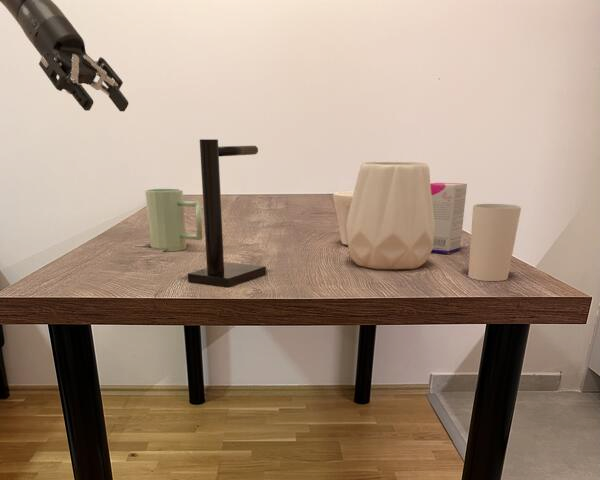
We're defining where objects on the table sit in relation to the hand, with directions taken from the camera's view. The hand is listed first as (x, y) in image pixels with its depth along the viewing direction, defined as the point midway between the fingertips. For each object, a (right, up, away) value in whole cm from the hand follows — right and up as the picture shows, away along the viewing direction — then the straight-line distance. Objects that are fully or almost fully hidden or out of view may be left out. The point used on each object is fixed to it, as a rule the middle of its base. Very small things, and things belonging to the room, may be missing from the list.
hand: (108, 107), depth 111 cm
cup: (+45, -21, +10) cm, 50 cm away
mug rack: (+24, -34, -16) cm, 44 cm away
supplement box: (+59, -24, +4) cm, 64 cm away
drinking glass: (+62, -34, -16) cm, 72 cm away
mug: (+11, -24, +4) cm, 27 cm away
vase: (+48, -29, -7) cm, 57 cm away
